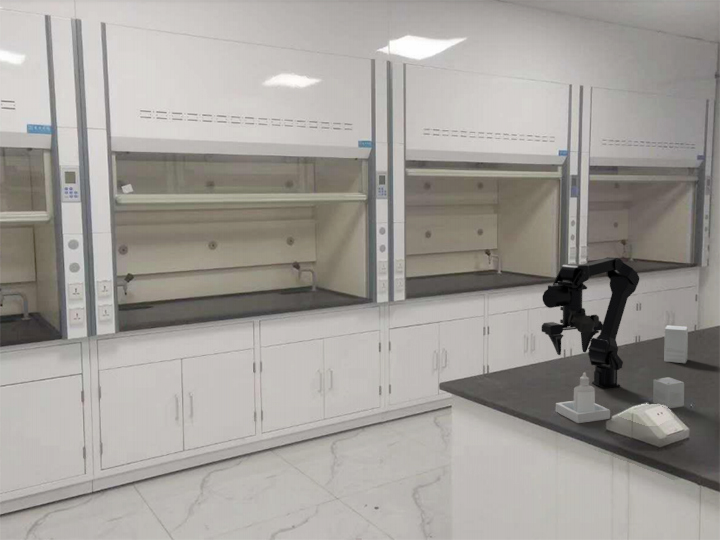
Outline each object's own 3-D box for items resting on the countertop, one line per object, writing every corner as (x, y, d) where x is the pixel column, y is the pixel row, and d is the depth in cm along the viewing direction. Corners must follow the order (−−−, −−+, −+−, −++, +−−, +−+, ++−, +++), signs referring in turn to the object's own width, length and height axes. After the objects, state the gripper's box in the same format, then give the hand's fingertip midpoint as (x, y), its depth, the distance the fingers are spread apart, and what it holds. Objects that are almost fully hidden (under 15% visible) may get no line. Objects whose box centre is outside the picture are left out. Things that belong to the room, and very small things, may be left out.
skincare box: (684, 406, 186) (685, 382, 186) (667, 409, 185) (668, 384, 184) (668, 400, 192) (669, 376, 191) (652, 402, 191) (652, 378, 190)
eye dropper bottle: (593, 417, 178) (594, 375, 177) (572, 415, 180) (573, 374, 179) (595, 412, 182) (595, 371, 181) (574, 410, 184) (575, 370, 183)
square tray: (586, 407, 188) (586, 399, 188) (609, 418, 178) (610, 410, 178) (555, 411, 185) (555, 403, 185) (577, 423, 175) (577, 414, 175)
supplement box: (687, 359, 239) (688, 326, 238) (685, 363, 233) (686, 330, 232) (666, 357, 243) (667, 324, 242) (663, 361, 237) (664, 328, 235)
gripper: (561, 310, 188) (561, 362, 189) (615, 306, 193) (614, 356, 195) (540, 305, 198) (540, 354, 200) (591, 301, 203) (590, 348, 205)
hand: (571, 353), depth 200 cm, fingers open, 9 cm apart
